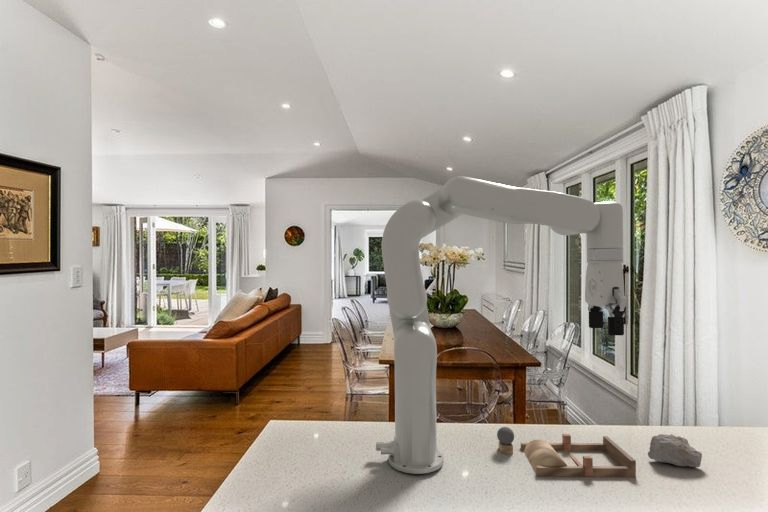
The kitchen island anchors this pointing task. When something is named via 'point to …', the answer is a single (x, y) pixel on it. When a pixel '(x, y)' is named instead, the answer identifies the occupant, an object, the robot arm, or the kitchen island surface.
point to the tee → (506, 448)
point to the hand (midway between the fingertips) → (605, 331)
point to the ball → (505, 435)
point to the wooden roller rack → (553, 465)
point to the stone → (674, 451)
